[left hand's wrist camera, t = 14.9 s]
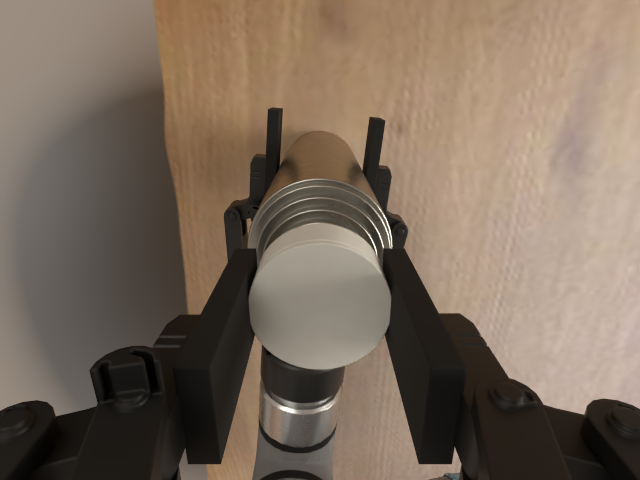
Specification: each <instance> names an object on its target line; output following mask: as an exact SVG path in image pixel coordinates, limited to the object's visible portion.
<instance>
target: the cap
mask: <svg viewBox="0 0 640 480" xmlns="http://www.w3.org/2000/svg"><path fill="white" fill-rule="evenodd" d="M390 309H391V293H390V289H389V286H388V283H387V280H386V278H385V275H384V272H383V269H382V266H381V263H380V261H379V258H378V256H377V255H376V253H375V251H374V250H373V249H372V247H371V246H370V245H369V244H368V243H367V242H366V241H365V240H364V239H363V238H361V237H360V236H359V235H358V234H356V233H354V232H352V231H350V230H348V229H346V228H343V227H340V226H336V225H331V224H308V225H304V226H300V227H297V228H294V229H292V230H289V231H288V232H286V233H284V234H282V235H281V236H280V237H278V238H277V239H276V240H275V241H274V242H273V243H272V244H271V245H270V246H269V247H268V248H267V250H266V251H265V253H264V254H263V256H262V258H261V260H260V263H259V265H258V268H257V271H256V274H255V277H254V280H253V283H252V285H251V288H250V292H249V312H250V324H251V326H252V329H253V331H254V333H255V335H256V337H257V338H258V340H259V341H260V342H261V344H262V345H263V346H264V347H265V348H266V349H267V350H268V351H269V352H271V353H272V354H273V355H274V356H276V357H278V358H279V359H281V360H283V361H285V362H287V363H289V364H292V365H295V366H298V367H302V368H307V369H322V370H324V369H333V368H338V367H342V366H345V365H348V364H351V363H353V362H355V361H357V360H359V359H361V358H362V357H364V356H365V355H367V354H368V353H369V352H370V351H372V350H373V349H374V348H375V347H376V346H377V345H378V343H379V342H380V341H381V339H382V338H383V336H384V334H385V333H386V331H387V328H388V326H389V322H390Z"/></svg>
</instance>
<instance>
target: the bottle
mask: <svg viewBox="0 0 640 480" xmlns="http://www.w3.org/2000/svg"><path fill="white" fill-rule="evenodd" d="M308 224H331V225H336V226H340V227H343V228H346V229H348V230H350V231H352V232H354V233H356V234H358V235H359V236H360V237H361V238H363V239H364V240H365V241H366V242H367V243H368V244H369V245H370V246H371V247H372V249H373V250H374V251H375V253H376V255H377V256H378V258H379V261H380V263H381V266H382V262H383V248H392V235H391V230H390V226H389V224H388V221H387V219H386V217H385V215H384V213H383V211H382V209H381V207H380V205H379V203H378V201H377V199H376V197H375V195H374V193H373V191H372V189H371V187H370V185H369V183H368V181H367V180H366V178H365V176H364V174H363V172H362V170H361V168H360V166H359V164H358V162H357V160H356V158H355V156H354V154H353V152H352V150H351V148H350V147H349V146H348V144H347V143H346V142H345V141H344V140H343V139H341V138H340V137H338V136H337V135H335V134H332V133H329V132H323V131H317V132H311V133H308V134H305V135H303V136H302V137H300V138H299V139H297V140H296V141H295V142H294V143H293V144H292V146H291V147H290V149H289V150H288V152H287V154H286V156H285V158H284V160H283V162H282V164H281V166H280V168H279V170H278V172H277V174H276V176H275V178H274V179H273V181H272V183H271V185H270V187H269V189H268V191H267V193H266V195H265V197H264V199H263V201H262V203H261V205H260V207H259V209H258V211H257V212H256V214H255V216H254V218H253V221H252V223H251V226H250V230H249V235H248V248H256V250H257V266H258V265H259V263H260V260H261V258H262V256H263V254H264V253H265V251H266V250H267V248H268V247H269V246H270V245H271V244H272V243H273V242H274V241H275V240H276V239H277V238H278V237H280V236H281V235H282V234H284V233H286V232H288V231H289V230H292V229H294V228H297V227H300V226H304V225H308Z"/></svg>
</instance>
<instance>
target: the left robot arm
mask: <svg viewBox="0 0 640 480" xmlns="http://www.w3.org/2000/svg"><path fill="white" fill-rule="evenodd" d="M257 268H258V266H257V250H256V248H235V250H234V252H233V254H232V256H231V258H230V260H229V262H228V263H227V265H226V267H225V269H224V271H223V273H222V275H221V277H220V279H219V281H218V282H217V284H216V286H215V288H214V290H213V292H212V294H211V296H210V298H209V299H208V301H207V303H206V305H205V307H204V309H203V311H202V313H201V315H179V316H178V317H176V318H175V319H174V320H172V321H171V322H170V323H168V324H167V325H166V326H165V328H164V330H163V331H162V333H161V334H160V336H159V338H158V339H157V341H156V342H155V344H154V345H153V348H150V347H146V346H131V347H126V348H122V349H118V350H116V351H114V352H111V353H109V354H107V355H105V356H104V357H102V358H101V359H99V360H98V361H97V362H96V363H95V364H94V365H93V366H92V368H91V369H90V375H91V378H92V382H93V386H94V390H95V394H96V398H97V402H98V404H97V406H96V407H93V408H90V409H86V410H82V411H78V412H74V413H69V414H65V415H60V416H55V413H54V409H53V407H52V406H51V405H50V404H48V403H47V402H43V401H37V400H36V401H28V402H22V403H19V404H16V405H13V406H10V407H7V408H5V409H3V410H1V411H0V480H181V477H180V471H179V463H180V460H181V457H182V455H183V452H184V449H185V448H186V454H187V460H188V464H221V461H222V458H223V454H224V450H225V446H226V442H227V439H228V435H229V431H230V427H231V424H232V420H233V416H234V412H235V408H236V405H237V401H238V397H239V393H240V389H241V386H242V382H243V378H244V374H245V370H246V367H247V363H248V359H249V355H250V351H251V348H252V344H253V340H254V336H255V333H254V331H253V329H252V326H251V324H250V312H249V292H250V288H251V285H252V283H253V280H254V277H255V274H256V271H257ZM382 269H383V272H384V275H385V278H386V280H387V283H388V286H389V289H390V293H391V309H390V322H389V326H388V328H387V331H386V333H385V337H386V341H387V345H388V349H389V352H390V356H391V360H392V364H393V368H394V371H395V375H396V379H397V383H398V386H399V390H400V394H401V398H402V402H403V405H404V409H405V413H406V417H407V421H408V424H409V428H410V432H411V436H412V440H413V443H414V447H415V451H416V455H417V459H418V462H419V464H452V459H453V453H454V447H455V448H456V451H457V453H458V456H459V459H460V461H461V464H462V465H461V470H460V476H459V480H640V409H639V408H637V407H635V406H633V405H630V404H627V403H624V402H621V401H618V400H610V399H599V400H593V401H592V402H591V403H590V404H589V405H588V406H587V408H586V411H585V415H583V414H578V413H574V412H569V411H565V410H561V409H556V408H553V407H549V406H546V405H543V403H542V401H541V400H540V398H539V397H538V395H537V394H536V393H535V392H534V391H532V390H531V389H530V388H529V387H528V386H526V385H524V384H522V383H520V382H518V381H516V380H513V379H510V378H509V377H508V376H507V374H506V373H505V371H504V370H503V368H502V367H501V365H500V364H499V362H498V361H497V359H496V357H495V356H494V354H493V353H492V351H491V350H490V348H489V347H488V346H487V344H486V342H485V341H484V339H483V338H482V337H481V334H480V333H479V331H478V330H477V328H476V327H475V325H474V324H473V323H472V322H471V321H469V320H468V319H467V318H465V317H464V316H462V315H461V314H439V313H438V311H437V309H436V308H435V306H434V304H433V302H432V300H431V298H430V296H429V294H428V292H427V290H426V289H425V287H424V285H423V283H422V281H421V279H420V277H419V275H418V273H417V272H416V270H415V268H414V266H413V264H412V262H411V260H410V258H409V256H408V254H407V253H406V251H405V249H404V248H383V262H382Z"/></svg>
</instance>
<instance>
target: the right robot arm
mask: <svg viewBox="0 0 640 480" xmlns="http://www.w3.org/2000/svg"><path fill="white" fill-rule="evenodd" d="M282 113H283V108H270V109H268V122H267V145H266V155H263V154H256V155H255V156H254V157H253V160H252V162H251V170H250V171H251V172H250V197H249V198H247V199H244V200H235V201H234V202H232V204H231V205H230V206H229V207H228V209H227V210H226V211H225V213H224V223H225V234H226V245H227V256H228V262H229V260H230V258H231V256H232V254H233V252H234V250H235V248H248V233H247V219H248V218H251V221H253V218H254V216H255V214H256V212H257V211H258V209H259V207H260V205H261V203H262V201H263V199H264V197H265V195H266V193H267V191H268V189H269V187H270V185H271V183H272V181H273V179H274V178H275V176H276V174H277V172H278V170H279V167H280V149H281V131H282ZM384 126H385V120H383V119H381V118H375V117H370V118H369V126H368V133H367V141H366V148H365V156H364V164H363V171H362V172H363V174H364V176H365V178H366V180H367V181H368V183H369V185H370V187H371V189H372V191H373V193H374V195H375V197H376V199H377V201H378V203H379V205H380V207H381V209H382V211H383V213H384V215H385V217H386V219H387V221H388V224H389V226H390V230H391V235H392V248H404V245H405V241H406V238H407V234H408V228H407V226H406V225H405V223H404V221H403V220H402V218H401V217H400V216H399V215H397V214H392V213H390V212H388V211H387V203H388V196H389V189H390V184H391V178H392V176H391V172H390V169H389V168H388V167H387V166H380V165H379V160H380V154H381V147H382V140H383V133H384ZM344 370H345V366H342V367H338V368H333V369H324V370H322V369H307V368H302V367H298V366H295V365H292V364H289V363H287V362H285V361H283V360H281V359H279V358H278V357H276V356H274V355H273V354H272V353H271V352H269V351H268V350H267V349H266V348H265V347H264V346H263V345H262V354H261V381H260V396H259V429H258V441H257V453H256V461H255V467H254V472H253V478H252V480H333V473H332V459H333V448H334V438H335V430H336V424H337V420H338V414H339V406H340V399H341V392H342V382H343V377H344ZM459 476H460V473H454V474H452V473H446V474H444V476H443V477H438V478H434V479H430V480H459Z"/></svg>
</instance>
